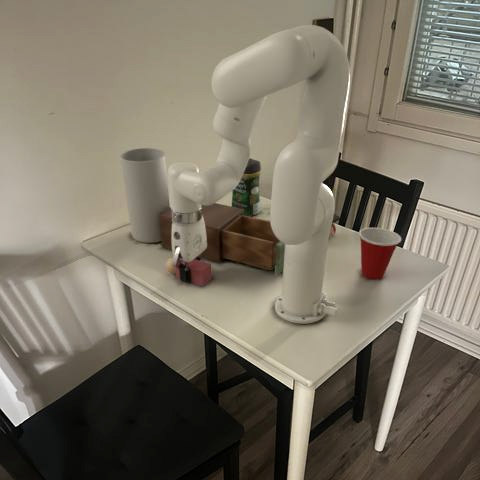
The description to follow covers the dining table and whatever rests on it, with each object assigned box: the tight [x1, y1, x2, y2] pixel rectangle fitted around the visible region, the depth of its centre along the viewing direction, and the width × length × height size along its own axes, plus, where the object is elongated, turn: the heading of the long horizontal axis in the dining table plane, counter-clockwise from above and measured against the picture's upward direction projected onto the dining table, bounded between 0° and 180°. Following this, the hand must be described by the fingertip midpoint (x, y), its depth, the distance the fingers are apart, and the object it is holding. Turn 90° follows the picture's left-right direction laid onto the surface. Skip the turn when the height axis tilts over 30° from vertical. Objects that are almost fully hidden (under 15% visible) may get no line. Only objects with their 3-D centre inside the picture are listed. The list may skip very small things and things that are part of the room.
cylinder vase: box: [119, 147, 171, 244], centre depth 146 cm, size 12×12×25 cm
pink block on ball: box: [165, 256, 213, 287], centre depth 131 cm, size 13×5×5 cm, turn 62°
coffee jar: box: [231, 157, 262, 217], centre depth 161 cm, size 10×8×19 cm
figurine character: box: [329, 213, 342, 238], centre depth 147 cm, size 7×8×15 cm
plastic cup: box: [358, 227, 402, 280], centre depth 130 cm, size 11×11×12 cm
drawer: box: [220, 215, 285, 276], centre depth 136 cm, size 24×14×9 cm, turn 62°
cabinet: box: [159, 202, 244, 264], centre depth 144 cm, size 20×15×11 cm
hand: (191, 276), depth 132 cm, fingers closed on pink block on ball, 4 cm apart
